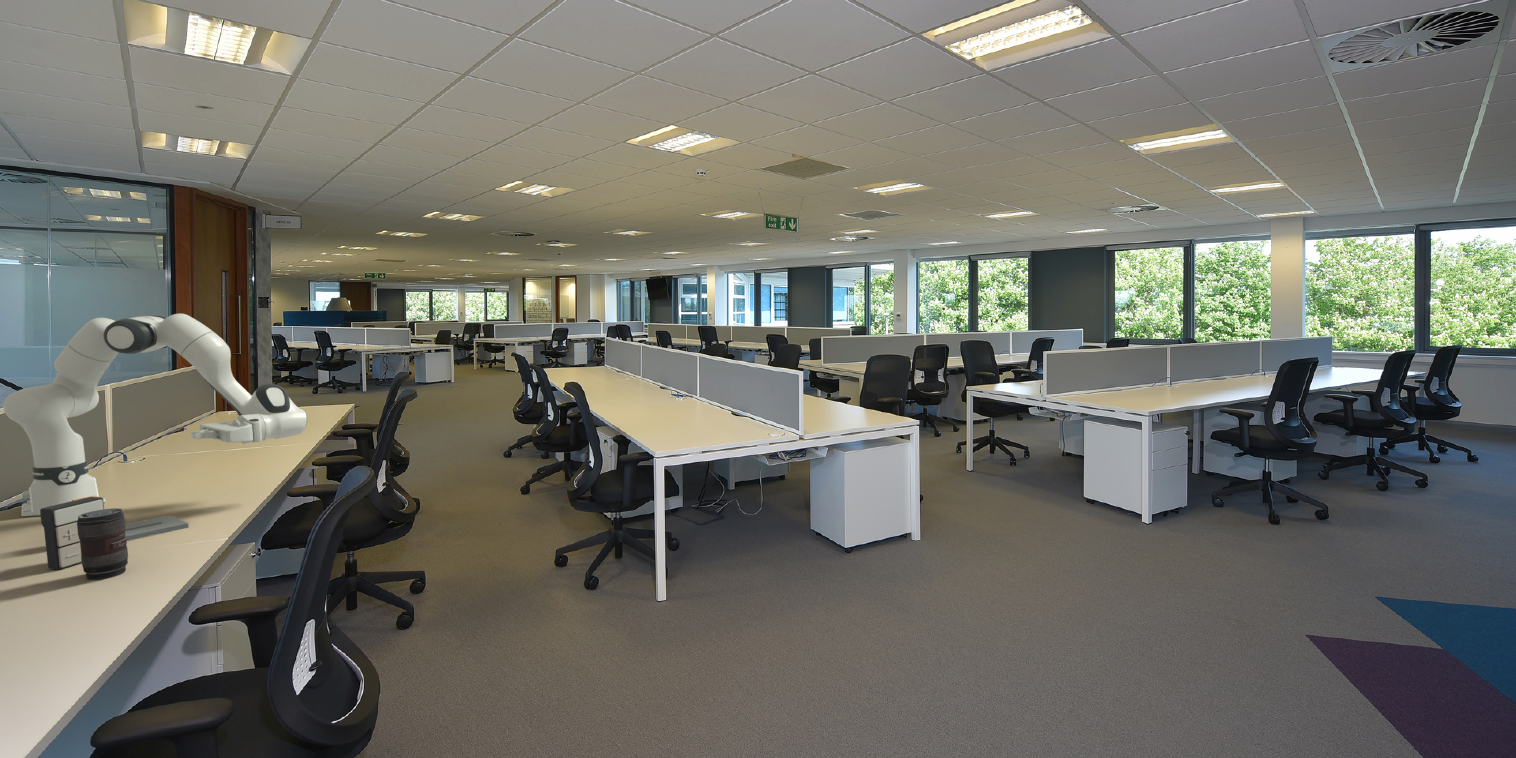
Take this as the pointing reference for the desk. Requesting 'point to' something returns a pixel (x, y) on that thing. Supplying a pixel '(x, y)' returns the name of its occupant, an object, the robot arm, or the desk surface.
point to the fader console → (153, 526)
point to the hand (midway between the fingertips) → (193, 435)
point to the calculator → (65, 530)
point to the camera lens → (103, 543)
